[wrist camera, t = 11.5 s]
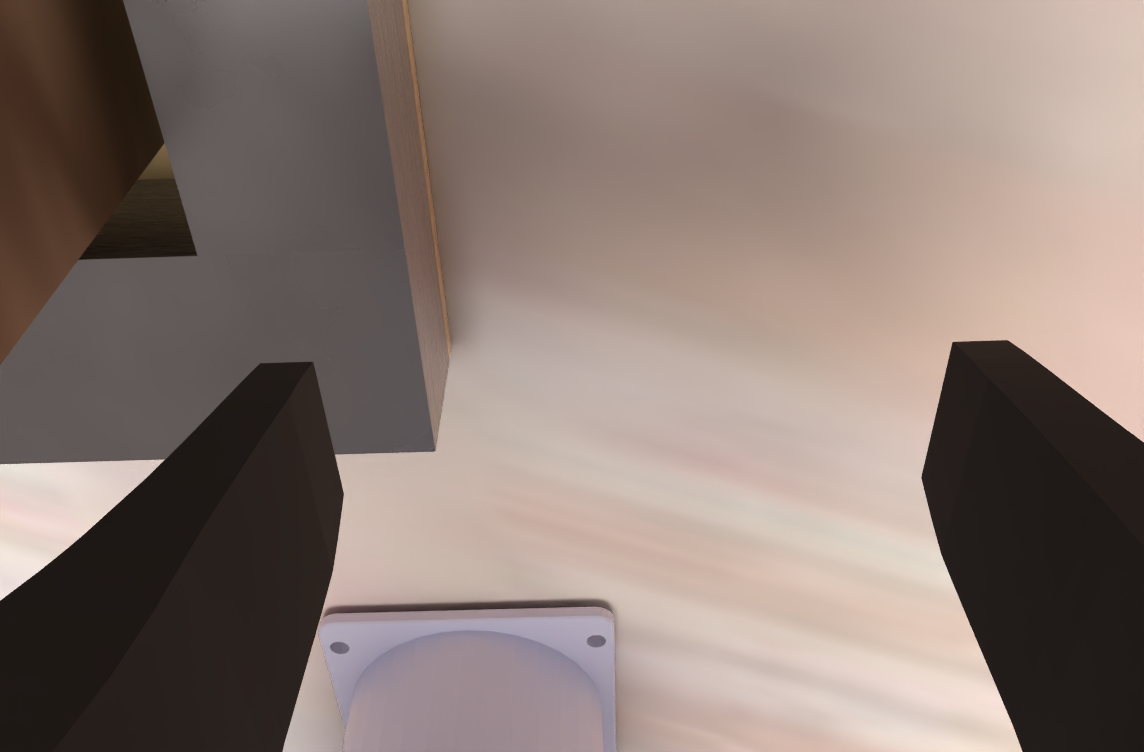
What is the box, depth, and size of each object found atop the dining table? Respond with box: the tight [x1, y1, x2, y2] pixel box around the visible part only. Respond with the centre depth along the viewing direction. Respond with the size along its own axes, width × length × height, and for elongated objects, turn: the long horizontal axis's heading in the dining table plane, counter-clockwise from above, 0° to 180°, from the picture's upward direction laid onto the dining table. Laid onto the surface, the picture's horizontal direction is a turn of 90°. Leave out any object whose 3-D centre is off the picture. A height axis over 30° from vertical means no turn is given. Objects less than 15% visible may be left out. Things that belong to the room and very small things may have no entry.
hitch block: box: [0, 0, 451, 464], centre depth 17 cm, size 15×13×4 cm
